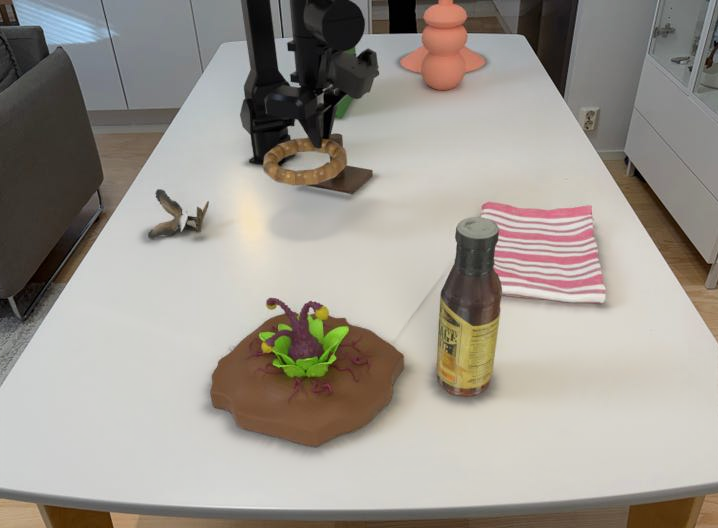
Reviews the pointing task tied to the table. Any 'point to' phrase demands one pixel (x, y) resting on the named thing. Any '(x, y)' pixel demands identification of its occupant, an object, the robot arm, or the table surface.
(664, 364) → the table surface
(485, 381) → the sauce bottle
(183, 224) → the eagle figurine
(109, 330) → the table surface
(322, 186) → the peg stand
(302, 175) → the segmented tan ring
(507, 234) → the dish towel
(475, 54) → the ceramic vessels
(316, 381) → the plant
